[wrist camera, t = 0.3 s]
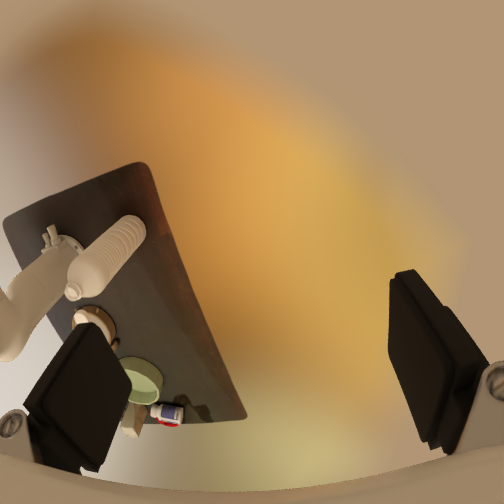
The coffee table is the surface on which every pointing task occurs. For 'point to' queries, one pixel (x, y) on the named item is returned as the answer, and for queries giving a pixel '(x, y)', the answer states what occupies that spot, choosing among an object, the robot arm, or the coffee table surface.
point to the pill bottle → (167, 413)
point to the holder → (142, 380)
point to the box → (133, 419)
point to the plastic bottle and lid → (103, 261)
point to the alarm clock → (101, 324)
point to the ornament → (166, 422)
